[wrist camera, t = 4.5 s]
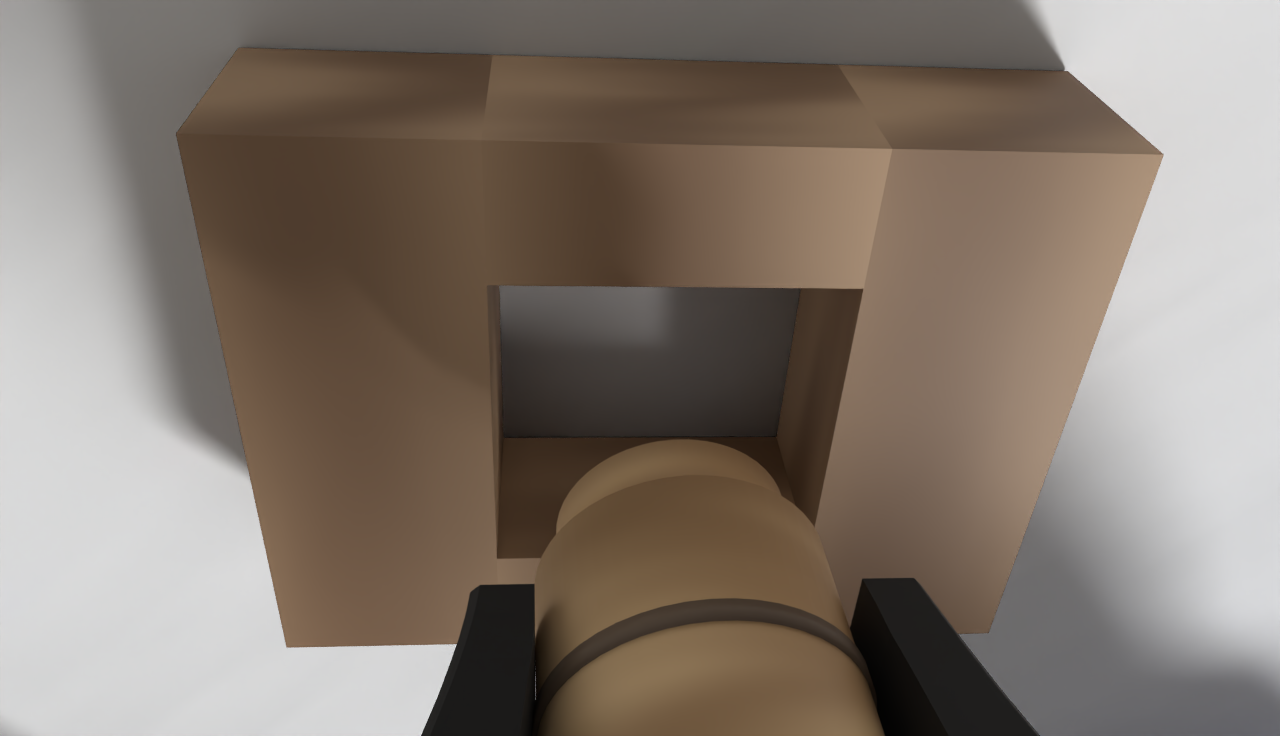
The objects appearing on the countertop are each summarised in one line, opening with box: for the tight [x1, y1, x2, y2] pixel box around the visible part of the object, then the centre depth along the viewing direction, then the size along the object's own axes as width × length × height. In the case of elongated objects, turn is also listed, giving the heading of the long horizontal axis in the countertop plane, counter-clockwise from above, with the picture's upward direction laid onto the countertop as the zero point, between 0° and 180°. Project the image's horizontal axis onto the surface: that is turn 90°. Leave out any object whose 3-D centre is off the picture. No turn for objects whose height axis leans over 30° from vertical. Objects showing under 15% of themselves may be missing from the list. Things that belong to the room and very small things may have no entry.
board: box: [176, 48, 1164, 647], centre depth 16 cm, size 12×9×3 cm
